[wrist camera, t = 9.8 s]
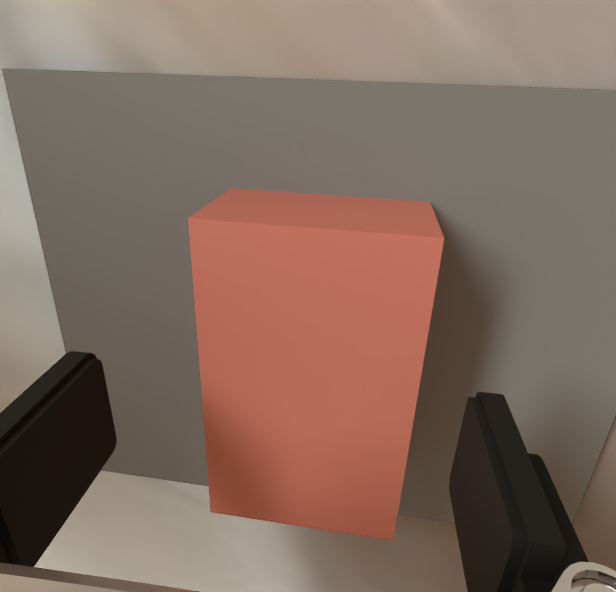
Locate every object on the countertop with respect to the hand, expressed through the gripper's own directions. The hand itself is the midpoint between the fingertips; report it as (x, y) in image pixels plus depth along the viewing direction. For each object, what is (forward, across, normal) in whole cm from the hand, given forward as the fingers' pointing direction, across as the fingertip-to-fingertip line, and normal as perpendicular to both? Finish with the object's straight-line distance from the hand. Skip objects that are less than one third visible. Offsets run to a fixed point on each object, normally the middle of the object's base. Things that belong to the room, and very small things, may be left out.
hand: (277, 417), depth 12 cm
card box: (+5, -1, 0) cm, 5 cm away
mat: (+5, -1, 0) cm, 5 cm away
